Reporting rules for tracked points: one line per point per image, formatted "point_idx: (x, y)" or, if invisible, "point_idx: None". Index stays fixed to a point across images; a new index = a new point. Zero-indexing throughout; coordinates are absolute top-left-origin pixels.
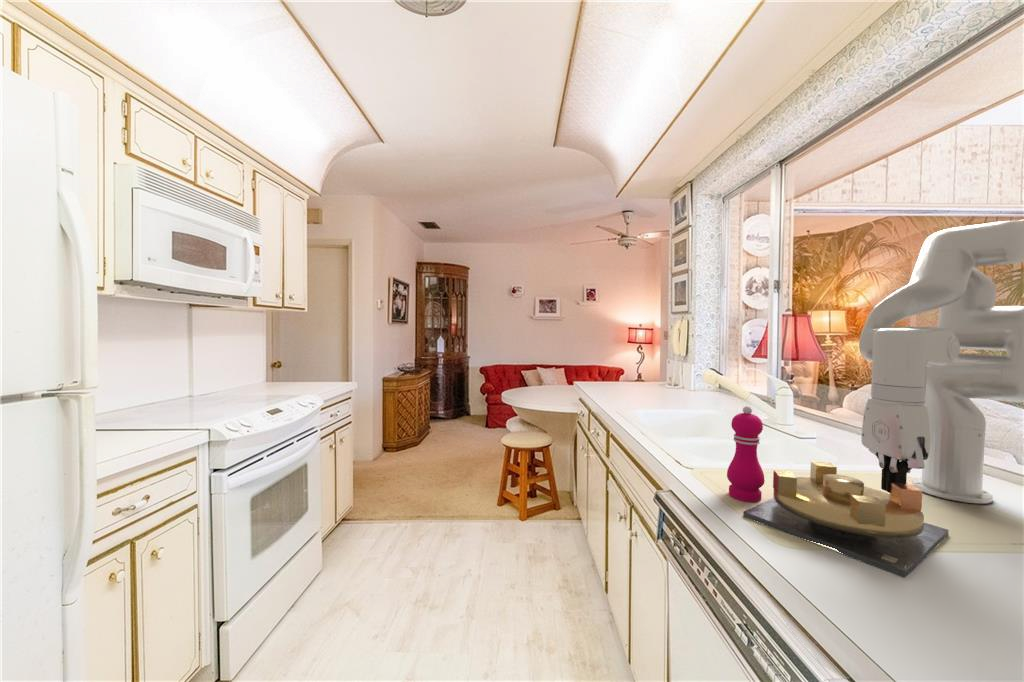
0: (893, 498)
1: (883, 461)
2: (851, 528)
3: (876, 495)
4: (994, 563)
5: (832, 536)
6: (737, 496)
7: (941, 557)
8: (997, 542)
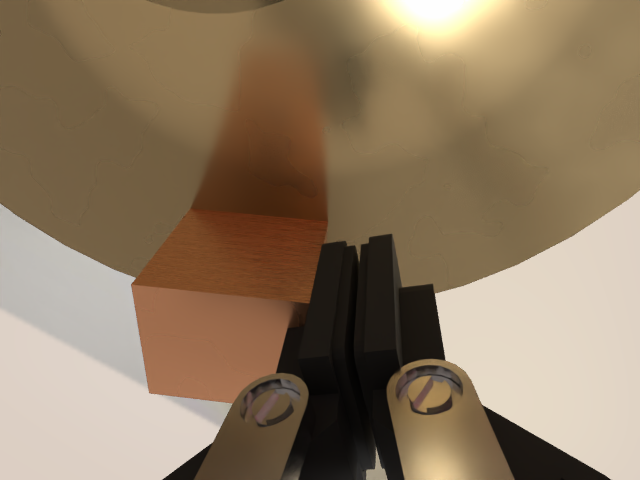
0: (271, 231)
1: (401, 437)
2: None
3: (412, 185)
4: (129, 341)
5: None
6: None
7: None
8: None
